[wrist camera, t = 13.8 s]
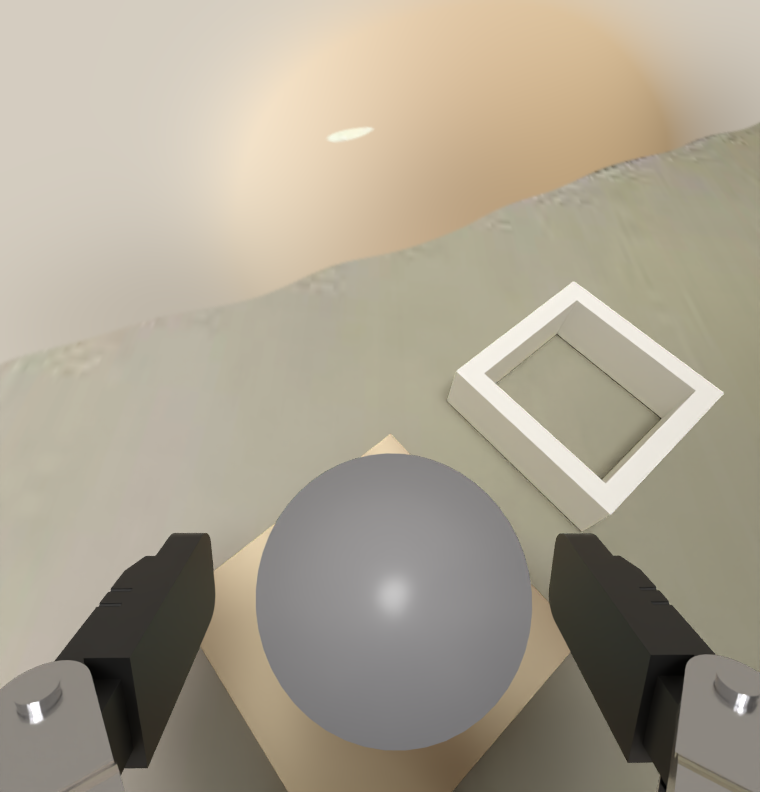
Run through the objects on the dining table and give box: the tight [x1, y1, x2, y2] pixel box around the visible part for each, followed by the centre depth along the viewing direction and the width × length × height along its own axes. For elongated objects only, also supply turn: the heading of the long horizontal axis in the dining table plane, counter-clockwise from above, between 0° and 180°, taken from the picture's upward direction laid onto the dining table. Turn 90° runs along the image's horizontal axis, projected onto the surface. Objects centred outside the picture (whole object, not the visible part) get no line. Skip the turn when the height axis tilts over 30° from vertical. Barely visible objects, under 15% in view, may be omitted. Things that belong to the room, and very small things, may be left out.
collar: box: [447, 281, 724, 531], centre depth 20 cm, size 8×8×2 cm
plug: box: [256, 453, 532, 750], centre depth 12 cm, size 4×4×10 cm
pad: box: [200, 434, 570, 792], centre depth 17 cm, size 10×10×1 cm
